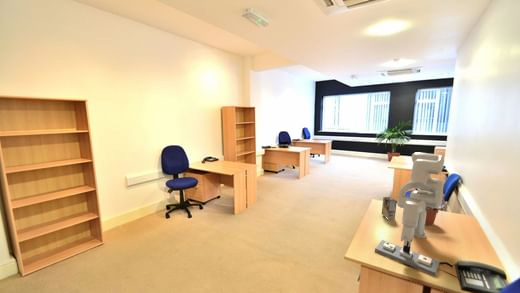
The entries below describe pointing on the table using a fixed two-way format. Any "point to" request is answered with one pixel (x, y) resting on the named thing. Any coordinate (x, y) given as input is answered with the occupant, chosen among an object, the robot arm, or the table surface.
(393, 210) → the coffee box
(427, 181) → the robot arm
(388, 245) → the tile
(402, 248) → the white small block
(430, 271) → the keypad board
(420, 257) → the tile
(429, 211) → the potted plant
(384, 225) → the table surface
